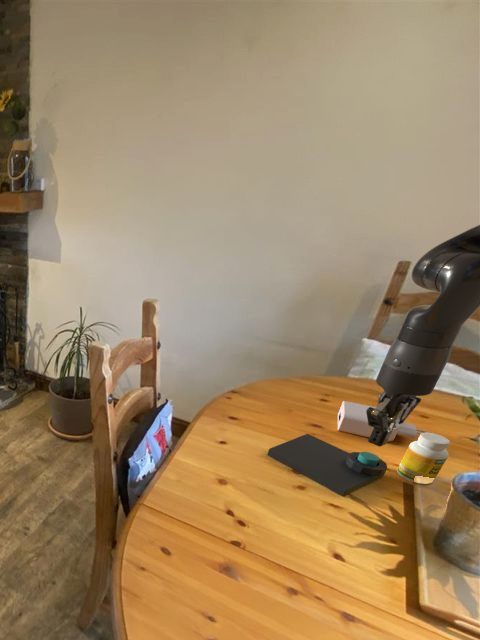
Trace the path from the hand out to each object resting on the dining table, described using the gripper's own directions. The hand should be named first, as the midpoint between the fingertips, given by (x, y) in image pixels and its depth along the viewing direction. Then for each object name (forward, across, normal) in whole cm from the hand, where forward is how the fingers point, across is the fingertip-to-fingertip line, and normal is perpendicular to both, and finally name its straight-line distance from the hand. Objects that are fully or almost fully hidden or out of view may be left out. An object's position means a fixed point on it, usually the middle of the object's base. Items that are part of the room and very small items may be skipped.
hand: (376, 443), depth 82 cm
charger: (+8, +20, +7) cm, 23 cm away
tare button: (+5, 0, 0) cm, 5 cm away
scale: (+8, -4, +5) cm, 10 cm away
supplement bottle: (+8, +8, -5) cm, 12 cm away
